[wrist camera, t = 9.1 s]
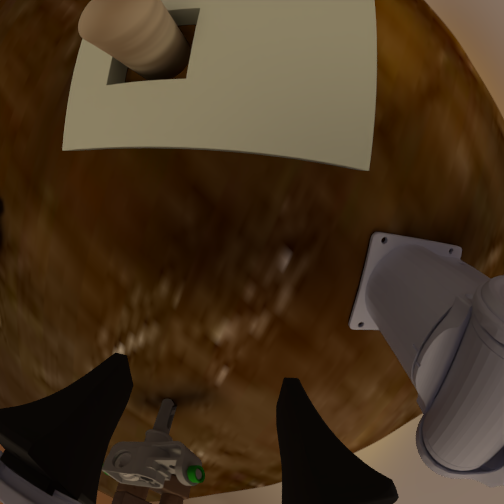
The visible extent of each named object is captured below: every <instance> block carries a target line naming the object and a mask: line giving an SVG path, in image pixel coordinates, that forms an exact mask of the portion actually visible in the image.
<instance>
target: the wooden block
mask: <svg viewBox="0 0 504 504" xmlns="http://www.w3.org/2000/svg"><path fill="white" fill-rule="evenodd" d="M190 487H191V486H186V485H184V484H182V483H181V482H180V481H179V480H178V478H177V477H176V476H174V475H172V474H171V478H170V480H165V482H164V486H163V488H151V487H144V486H136V485H129V484H122V483H120V482H119V484H118V487H117V490H116V491H117V492H115V495H114V498H113V501H112V504H152V503H149V502H147V501H145V500H146V497H147V494H148V490H149V488H150V489H151V490H153V491H155V492H157V493H160V494H162V495H161V498H160V503H159V504H183V500H184V499H188V498H189V493H190Z"/></svg>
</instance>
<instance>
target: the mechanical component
mask: <svg viewBox="0 0 504 504" xmlns="http://www.w3.org/2000/svg"><path fill="white" fill-rule="evenodd" d="M172 406H174V403H173V401H172V400H171V399H164V400H163V401H162V404H161V407H160V410H159V413H158V416H157V418H156V421H155V424H154V427H153V429H150V430H147V431H146V438H145V441H144V442H119V443H117V444H115V445H114V446H113V447H112V449H111V451H110V453H109V455H108V457H107V458H106V460H105V462H104V464H103V467H102V470H103V471H104V472H105V474H107V475H109V476H111V477H112V478H114V479H115V480H117V481H118V482H120V483H122V484H129V485H136V486H144V487H151V488H163V486H164V482H165V480H170V478H171V474H176V476H177V478H178V480H179V481H180V482H181V483H182V484H184V485H186V486H194V485H197V484H198V483H201V482H203V481H204V479H205V473H204V470H203V468H202V462H201V460H200V459H199V458H198V457H197V456H196V455H195V454H194V453H192V452H191V451H190V450H189V449H188V448H187V447H186V446H185V445H184V444H182V443H181V442H178V441H173V440H172V438H171V437H170V436H169V431H170V428H171V424H172V421H173V417H174V414H175V410H176V407H177V406H174V407H172ZM172 465H174V466H175V467H174V466H172Z"/></svg>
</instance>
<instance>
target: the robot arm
mask: <svg viewBox="0 0 504 504" xmlns="http://www.w3.org/2000/svg"><path fill="white" fill-rule="evenodd" d="M383 237H385V241H384V242H381V240H382V238H383ZM450 249H451V250H450ZM449 250H450V252H449ZM461 254H462V248H461V247H459V246H457V245H452V244H446V243H441V242H436V241H430V240H425V239H419V238H413V237H407V236H401V235H395V234H389V233H383V232H375V233H373V234H372V236H371V239H370V244H369V248H368V253H367V257H366V261H365V266H364V270H363V274H362V277H361V281H360V285H359V289H358V292H357V296H356V300H355V303H354V307H353V310H352V313H351V317H350V320H349V326H350V328H351V329H355V330H380V332H381V333H382V335H383V336H384V338H385V339H386V341H387V342H388V344H389V346H390V347H391V349H392V350H393V352H394V353H395V355H396V357H397V358H398V360H399V361H400V363H401V365H402V366H403V368H404V370H405V371H406V373H407V375H408V376H409V378H410V380H411V381H412V383H413V385H414V386H415V388H416V390H417V391H418V398H417V403H418V405H419V407H420V409H421V410H422V412H423V414H424V415H423V416H422V418H421V420H420V422H419V424H418V427H417V431H416V446H417V449H418V453H419V455H420V457H421V459H422V460H423V462H424V463H425V464H426V465H427V466H428V467H429V468H430V469H431V470H432V471H434V472H435V473H437V474H439V475H441V476H444V477H448V478H458V479H460V478H461V479H464V478H466V479H472V480H476V481H479V482H481V483H483V484H485V485H487V486H488V487H497V486H503V485H504V275H503V276H497V277H494V278H492V279H491V278H489V277H487V276H486V275H484V274H483V273H481V272H480V271H478V270H476V269H475V268H473V267H472V266H470V265H468V264H467V263H465V262H463V261H462V260H460V258H461ZM360 322H362V324H360V325H358V324H359V323H360ZM132 388H133V382H132V377H131V373H130V368H129V363H128V358H127V355H123V354H119V353H115V354H113V355H112V356H110V357H109V358H108V359H106V360H105V361H104V362H102V363H101V364H100V365H98V366H97V367H96V368H94V369H93V370H92V371H90V372H89V373H87V374H86V375H85V376H83V377H82V378H80V379H79V380H77V381H75V382H74V383H72V384H71V385H69V386H68V387H66V388H64V389H62V390H60V391H58V392H56V393H54V394H52V395H50V396H47V397H45V398H42V399H40V400H37V401H34V402H31V403H28V404H24V405H20V406H15V407H9V408H3V409H0V444H1V445H2V446H3V448H4V449H5V451H4V452H3V453H2V451H0V501H1V502H2V503H3V504H96V497H97V490H98V484H99V479H100V474H101V469H102V465H103V461H104V458H105V454H106V451H107V448H108V444H109V441H110V439H111V437H112V434H113V432H114V430H115V428H116V426H117V424H118V422H119V420H120V418H121V416H122V413H123V411H124V409H125V407H126V405H127V403H128V400H129V397H130V394H131V391H132ZM276 425H277V433H278V441H279V448H280V456H281V464H282V504H393V503H395V502H396V501H397V499H398V494H397V490H396V487H395V485H394V483H393V481H392V480H391V479H389V478H387V477H386V476H384V475H382V474H381V473H379V472H377V471H375V470H374V469H372V468H371V467H369V466H368V465H367V464H365V463H364V462H363V461H362V460H360V459H359V458H358V457H357V456H356V455H354V454H353V453H352V452H351V451H350V450H349V449H348V448H347V447H346V446H345V445H344V444H343V443H342V442H341V441H340V440H339V439H338V438H337V437H336V436H335V435H334V433H333V432H332V431H331V430H330V429H329V427H328V426H327V425H326V423H325V422H324V421H323V419H322V418H321V416H320V415H319V413H318V412H317V410H316V409H315V407H314V406H313V404H312V403H311V401H310V399H309V397H308V396H307V394H306V392H305V390H304V388H303V387H302V385H301V383H300V380H299V379H298V378H284V380H283V384H282V387H281V391H280V395H279V398H278V402H277V406H276Z"/></svg>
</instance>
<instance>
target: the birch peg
mask: <svg viewBox="0 0 504 504" xmlns="http://www.w3.org/2000/svg"><path fill="white" fill-rule="evenodd" d="M78 30H79V34H80V36H81V37H82V38H83V39H84V40H86V41H88V42H89V43H91V44H93V45H94V46H96V47H98V48H99V49H101V50H102V51H104V52H106V53H107V54H109V55H110V56H112V57H114V58H115V59H117V60H118V61H120V62H121V63H123V64H124V65H126V66H127V67H129V68H130V69H132V70H133V71H135V72H136V73H138V74H139V75H141V76H142V77H144V78H145V79H147V80H149V81H150V80H166V79H171V78H173V77H175V76H176V75H178V74H179V73H180V72H181V71H182V70H183V69H184V68H185V67H186V65H187V64H188V62H189V59H190V54H191V50H190V46H189V44H188V42H187V41H186V39H185V37H184V36H183V34H182V33H181V31H180V29H179V28H178V26H177V25H176V23H175V21H174V20H173V18H172V17H171V15H170V14H169V12H168V10H167V9H166V7H165V6H164V4H163V3H162V1H161V0H91V1H90V2H89V4H88V5H87V6H86V8H85V9H84V11H83V13H82V15H81V17H80V20H79V25H78Z"/></svg>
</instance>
